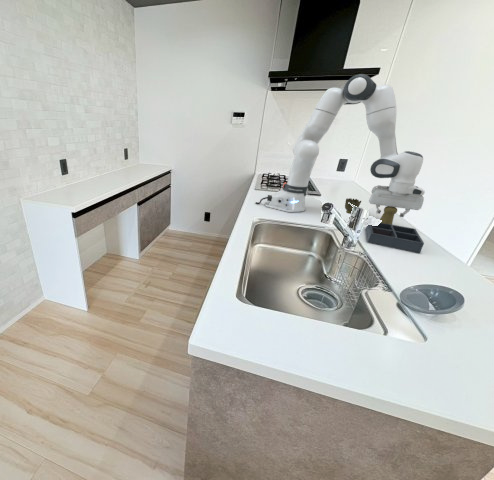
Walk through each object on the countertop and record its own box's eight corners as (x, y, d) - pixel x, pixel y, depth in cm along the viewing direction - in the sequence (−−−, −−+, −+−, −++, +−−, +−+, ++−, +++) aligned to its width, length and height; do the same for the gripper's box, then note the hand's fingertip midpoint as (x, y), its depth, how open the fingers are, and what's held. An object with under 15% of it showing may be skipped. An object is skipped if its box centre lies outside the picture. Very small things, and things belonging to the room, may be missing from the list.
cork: (393, 230, 129) (402, 209, 124) (379, 229, 130) (388, 208, 125) (387, 225, 134) (395, 205, 129) (374, 224, 135) (381, 204, 130)
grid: (367, 242, 115) (371, 233, 113) (365, 229, 129) (368, 220, 127) (419, 253, 107) (424, 243, 105) (411, 237, 121) (415, 228, 119)
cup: (359, 215, 147) (364, 202, 143) (346, 215, 147) (351, 201, 143) (351, 211, 154) (356, 198, 150) (339, 210, 154) (343, 197, 150)
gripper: (374, 186, 125) (364, 213, 131) (429, 192, 116) (416, 220, 122) (373, 183, 130) (364, 209, 136) (426, 189, 121) (413, 216, 127)
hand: (389, 215), depth 129 cm, fingers open, 8 cm apart
